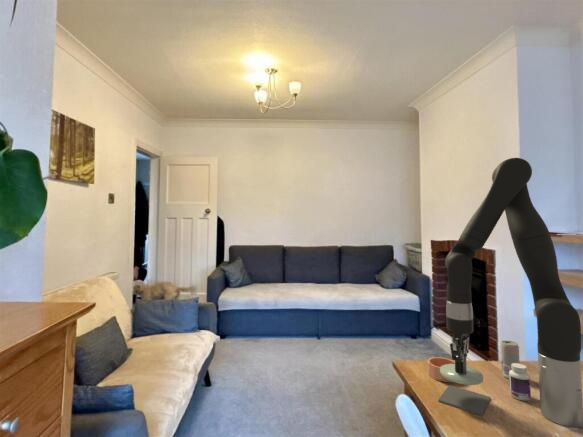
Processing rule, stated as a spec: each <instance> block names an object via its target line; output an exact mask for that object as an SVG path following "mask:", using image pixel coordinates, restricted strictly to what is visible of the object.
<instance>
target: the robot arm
mask: <svg viewBox="0 0 583 437" xmlns="http://www.w3.org/2000/svg"><path fill="white" fill-rule="evenodd" d="M532 175H533V169H532V165H531V164H530V162H528V161H527V160H526V159H524V158H521V157H511V158H508V159H506V160H503V161H501V162H500V163H499V164H498V165H497V166H496V167H495V169H494V170H493V172H492V175H491V181H492V183H491V186H490V189H489V190H488V192H487V194H486V195H485V198H484V200H482V202H481V203H480V205H479V207H478V208H477V209H476V211H475V213H473V215H472V216H471V218H470V219H469V221H468V222H467V224H466V225H465V227H464V228H463V231H462V232H461V233H460V236H459V238H458V240H457V241H456V242H455V244H454V245H453V246H452V248H451V249H450V251H449V252H448V254H447V255H446V257H445V260H444V265H445V268H446V270H447V271H446V272H447V284H446V306H445V316H446V320H445V322H446V329H447V331H449V332H450V333H453V336H451V343H449V348H450V354H451V360H453V361H455V371H456V372H457V373H460V374H463V372H464V369H463V361H464V359H463V356H466V358H467V357H468V354H469V352H470V350H469V347H470V337H471V336H470V334H473V332H474V310H473V309H474V308H473V305H472V304H473V302H472V281H473V280H472V278H473V263H472V260H473V259H474V257H475V255H476V254H477V252H479V251H481V250H482V249H483V247H484V246H485V245H486V243H487V242H488V239H489V238H490V236H491V234H492V233H493V231H494V229H495V227H496V225H497V224H498V222H499V221H500V218H501V216H502V215H503V213H504V212H505V218H506V221H507V226H508V230H509V232H510V237H511V241H512V243H513V247H514V249H515V252H516V255H517V258H518V260H519V263H520V264H521V267H522V269H523V271H524V273H525V275H526V277H527V279H528V282H529V285H530V289H531V290H530V291H531V294H532V299H533V300H532V301H533V304H534V305H533V306H534V313H535V316H536V325H537V327H536V328H537V347H536V348H537V364H538V367H537V368H538V384H539V402H540V403H539V407H540V413H541V415H542V416H543V417H545V418H546V419H547V420H549V421H552V422H553V423H556V424H559V425H561V426H566V427H572V428H576V427H577V428H581V429H583V386H582V371H581V369H582V368H581V366H582V365H581V351H582V328H581V324H582V323H581V317H580V315H579V314H580V313H578V311H577V310H576V308H575V307H574V306H573V305H572V303H571V302H570V300H569V298H568V296H567V294H566V292H565V289H564V287H563V285H562V282H561V280H560V275H559V267H558V259H557V253H556V250H555V245H554V243H553V240H552V236H551V234H550V231H549V229H548V226H547V225H546V222H545V221H544V219H543V218H542V216H541V215H540V214H539V212H538V211H537V209H536V207H535V206H534V204H533V203H532V199H531V196H530V192H529V188H528V182H529V181H530V180H531V178H532ZM457 356H459V357H457ZM467 364H468V363H466V368H467V366H468V365H467Z"/></svg>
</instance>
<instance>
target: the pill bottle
mask: <svg viewBox="0 0 583 437" xmlns="http://www.w3.org/2000/svg"><path fill="white" fill-rule="evenodd" d="M511 368H512V370H510V371H509V381H508V382H509V394H510V396H511V397H513V398H514V399H515V400H519V401H522V402H523V401H525V402H526V401H530V400H531V398H532V393H531V376H530V374H529V373H527V372H528V368H527V365H525V364H522V363H520V364H518V363H512V364H511Z"/></svg>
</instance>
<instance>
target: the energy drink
mask: <svg viewBox="0 0 583 437" xmlns="http://www.w3.org/2000/svg"><path fill="white" fill-rule="evenodd" d="M500 354H501V355H500V356H501V358H500V360H501V375H502V376H503V377H504V378H506V379H509V371H510V370H512V368H511V364H512V363H518V364H521V361H520V347H519V344H518V343H517V342H516V341H512V340H501V343H500Z"/></svg>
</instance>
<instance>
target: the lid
mask: <svg viewBox="0 0 583 437" xmlns="http://www.w3.org/2000/svg"><path fill="white" fill-rule="evenodd" d="M457 357H459V356H457ZM463 359H464V361H463V369H464V372H463V374H460V373H457V372H456V371H455V364H446V365H443V366H441V367H440V374H441V375H442V376H443V377H444V378H446V379H448V380H450V381H453V382H452V383H457V384H460V385H466V386H468V385H469V386H473V385H474V386H475V385H480V384H482V383H483V382H484V375H483V373H482V372H480V371H479V370H477V369H476V368H473V367H471V366H468V365H467V368H466V364H467V357H466V356H463Z"/></svg>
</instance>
